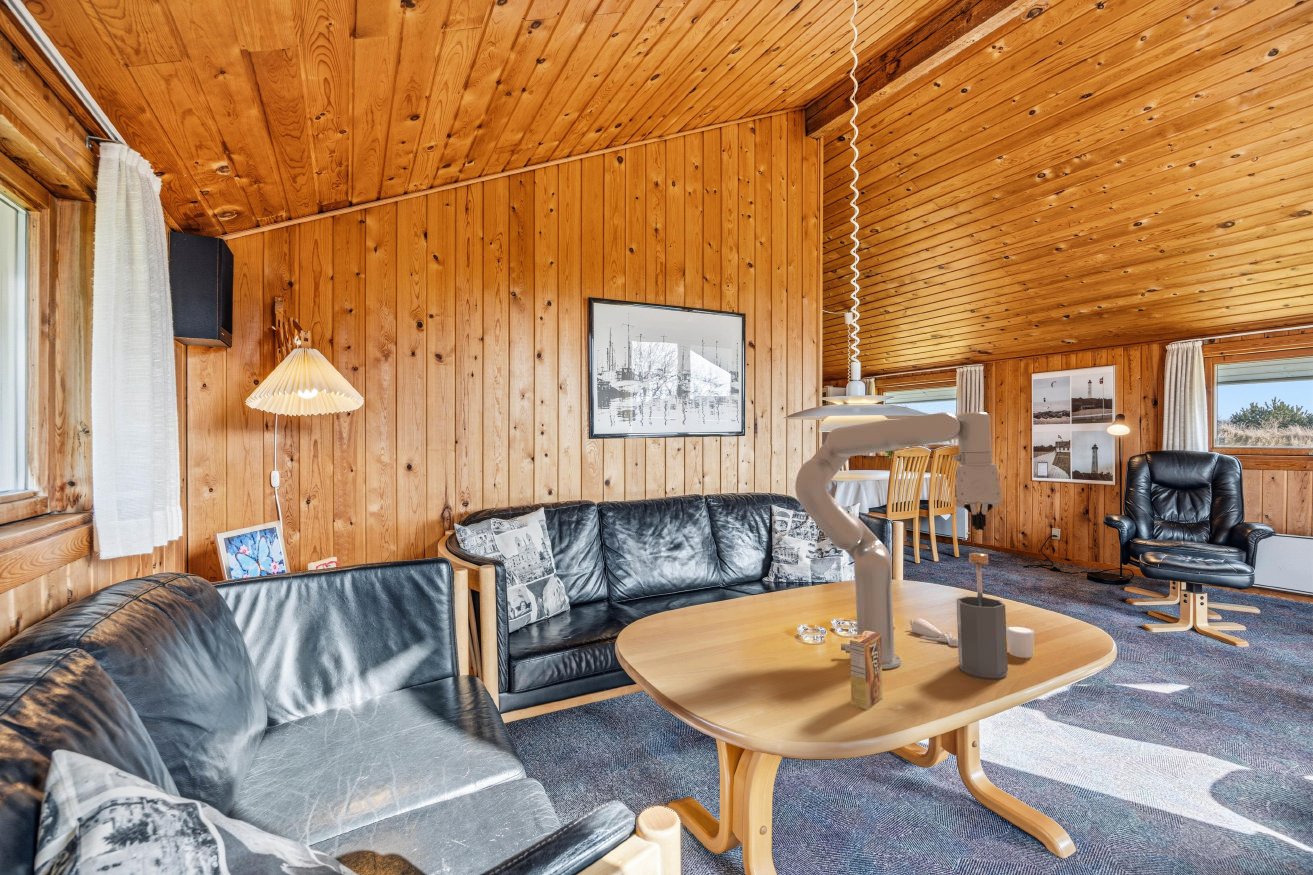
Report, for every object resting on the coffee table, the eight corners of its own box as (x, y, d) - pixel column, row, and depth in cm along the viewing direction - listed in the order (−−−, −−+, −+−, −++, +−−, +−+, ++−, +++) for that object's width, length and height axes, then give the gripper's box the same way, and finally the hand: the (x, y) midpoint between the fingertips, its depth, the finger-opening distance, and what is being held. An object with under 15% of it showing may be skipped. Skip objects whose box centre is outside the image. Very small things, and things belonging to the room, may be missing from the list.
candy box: (866, 692, 142) (864, 629, 142) (884, 697, 139) (881, 632, 139) (850, 705, 135) (848, 639, 136) (868, 710, 132) (866, 642, 133)
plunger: (966, 622, 150) (964, 557, 150) (959, 612, 158) (957, 551, 158) (1003, 623, 148) (1001, 557, 148) (994, 614, 156) (992, 551, 156)
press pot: (964, 677, 149) (962, 606, 149) (953, 657, 163) (950, 592, 163) (1012, 680, 146) (1009, 608, 146) (996, 660, 160) (994, 594, 160)
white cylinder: (1021, 660, 159) (1020, 634, 159) (1000, 651, 166) (999, 626, 166) (1041, 656, 161) (1040, 631, 161) (1020, 648, 168) (1019, 624, 168)
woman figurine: (927, 613, 190) (974, 633, 172) (927, 627, 190) (973, 648, 173) (898, 618, 186) (942, 639, 169) (898, 631, 186) (942, 654, 169)
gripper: (947, 460, 152) (950, 531, 152) (1012, 458, 148) (1015, 531, 147) (941, 459, 159) (944, 527, 159) (1003, 457, 155) (1006, 527, 155)
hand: (979, 529), depth 153 cm, fingers closed
